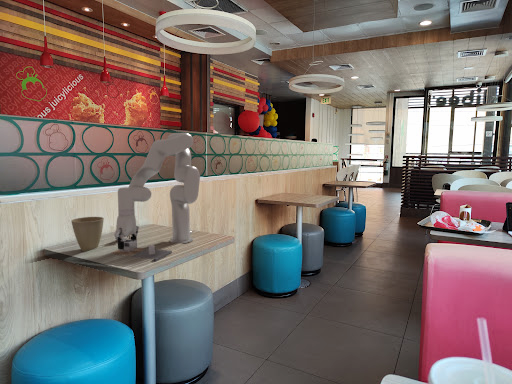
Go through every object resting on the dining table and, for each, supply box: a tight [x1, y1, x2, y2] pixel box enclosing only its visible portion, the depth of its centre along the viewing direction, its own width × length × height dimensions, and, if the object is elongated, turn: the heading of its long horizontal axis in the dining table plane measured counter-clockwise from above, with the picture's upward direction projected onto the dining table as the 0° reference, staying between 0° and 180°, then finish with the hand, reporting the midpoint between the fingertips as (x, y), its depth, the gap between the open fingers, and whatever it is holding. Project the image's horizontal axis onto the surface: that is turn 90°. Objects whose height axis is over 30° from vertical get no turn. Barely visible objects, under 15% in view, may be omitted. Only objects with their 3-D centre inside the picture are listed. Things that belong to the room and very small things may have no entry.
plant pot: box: [71, 216, 104, 252], centre depth 178 cm, size 15×15×16 cm
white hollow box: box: [118, 238, 138, 253], centre depth 172 cm, size 6×6×5 cm
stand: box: [111, 247, 147, 256], centre depth 172 cm, size 12×12×4 cm
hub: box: [130, 244, 173, 262], centre depth 167 cm, size 14×14×5 cm
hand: (127, 246), depth 172 cm, fingers open, 9 cm apart
